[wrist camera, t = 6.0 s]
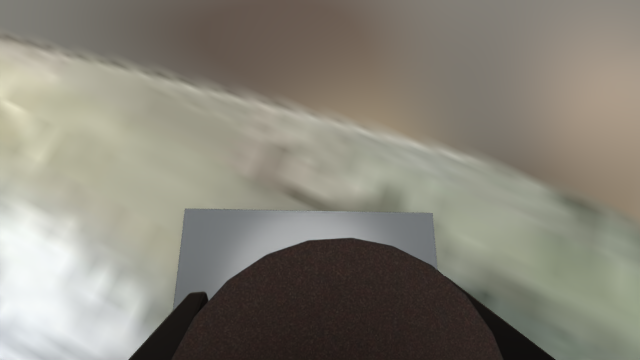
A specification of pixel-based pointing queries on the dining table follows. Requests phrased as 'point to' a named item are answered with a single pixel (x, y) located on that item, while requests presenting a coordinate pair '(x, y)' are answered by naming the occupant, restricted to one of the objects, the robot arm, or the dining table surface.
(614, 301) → the dining table surface
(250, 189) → the dining table surface
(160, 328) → the robot arm
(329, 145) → the dining table surface
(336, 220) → the slate board
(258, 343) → the deodorant
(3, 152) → the dining table surface
